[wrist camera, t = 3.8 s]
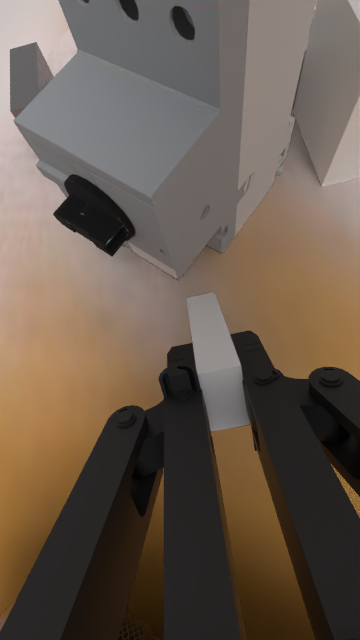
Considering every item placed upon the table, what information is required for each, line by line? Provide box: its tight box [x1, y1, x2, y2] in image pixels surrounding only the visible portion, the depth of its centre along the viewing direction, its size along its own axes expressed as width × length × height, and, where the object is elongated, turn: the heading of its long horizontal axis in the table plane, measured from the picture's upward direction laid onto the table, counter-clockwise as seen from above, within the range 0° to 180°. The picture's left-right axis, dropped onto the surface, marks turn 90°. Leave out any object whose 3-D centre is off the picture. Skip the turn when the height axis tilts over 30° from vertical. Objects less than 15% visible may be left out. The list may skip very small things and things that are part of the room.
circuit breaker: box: [14, 0, 319, 280], centre depth 17 cm, size 8×14×15 cm, turn 144°
